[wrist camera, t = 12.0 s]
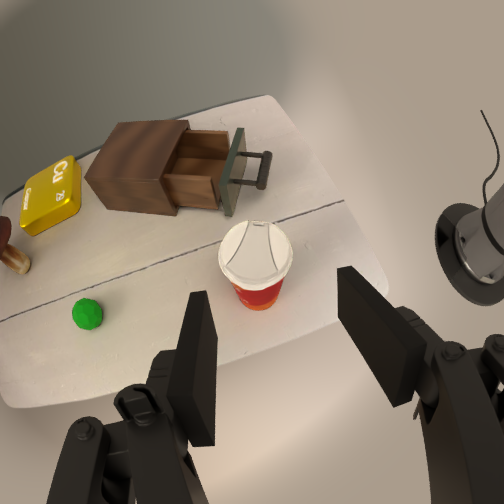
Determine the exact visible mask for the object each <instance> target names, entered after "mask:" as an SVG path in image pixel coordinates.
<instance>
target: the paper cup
mask: <svg viewBox="0 0 504 504" xmlns="http://www.w3.org/2000/svg"><path fill="white" fill-rule="evenodd" d="M292 258H293V251H292V246H291V244H290V241H289V239H288V238H287V236H286V235H285V234H284V233H283V232H282V230H281V229H279V228H278V227H277V226H276V225H274V224H272V223H270V222H269V223H266V222H264V221H255V220H254V221H250V222H249V220H248V221H244V222H241V223H239V224H237V225H235V226H234V227H233V228H232V229H230V231H229V232H228V233H227V234H226V236H225V237H224V239H223V240H222V242H221V244H220V248H219V253H218V259H219V264H220V267H221V269H222V271H223V273H224V274H225V276H226V277H227V278H228V279H229V280H230V281H231V283H232V285H233V287H234V289H235V290H236V292H237V294H238V296H239V298H240V300H241V301H242V303H243V304H244V305H245V306H246V307H248V308H250V309H252V310H258V311H259V310H265V309H267V308H269V307H270V306H272V305H273V304H274V302H275V301H276V299H277V297H278V294H279V292H280V289H281V285H282V282H283V279H284V276H285V275H286V274H287V272H288V270H289V269H290V266H291V263H292Z"/></svg>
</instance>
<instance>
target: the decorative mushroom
mask: <svg viewBox="0 0 504 504" xmlns="http://www.w3.org/2000/svg"><path fill="white" fill-rule="evenodd" d="M10 235H11V221H10V219H9V218H8V217H5V216H0V260H1V261H2V262H3V263H4V264H6V265H7V266H8V267H9V268H10V269H12V270H13V271H15V272H16V273H18V274H25V273H26V272H27V271H28V270H29V267H30V261H29V258H28V257H27V256H26V255H25V254H24V253H22V252H21V251H20V250H18V249H17V248H15V247H14V246H12V245H10V244H8V241H9V238H10Z"/></svg>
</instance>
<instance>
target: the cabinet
mask: <svg viewBox="0 0 504 504" xmlns="http://www.w3.org/2000/svg"><path fill="white" fill-rule="evenodd" d="M185 130H191V129H190V125H189V121H188V120H155V121H136V122H121V123H118V124H117V125H116V127H115V128H114V130H113V131H112V133H111V134H110V136H109V137H108V139H107V140H106V142H105V143H104V145H103V146H102V148H101V150H100V151H99V153H98V154H97V156H96V158H95V159H94V161H93V163H92V164H91V166H90V168H89V169H88V171H87V173H86V175H85V176H84V178H85V180H86V181H87V182H88V184H89V185H90V187H91V188H92V189H93V191H94V192H95V194H96V195H97V196H98V198H99V199H100V200H101V202H102V203H103V204H104V206H105V207H106V208H107V209H109V210H119V211H129V212H139V213H149V214H159V215H168V216H176V215H177V212H178V209H179V207H180V206H179V205H174V204H173V201H172V199H171V197H170V195H169V193H168V190H167V188H166V186H165V184H164V181H163V176H164V174H165V172H166V170H167V168H168V165H169V163H170V161H171V159H172V157H173V155H174V153H175V151H176V149H177V147H178V144H179V142H180V140H181V138H182V136H183V134H184V132H185Z"/></svg>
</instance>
